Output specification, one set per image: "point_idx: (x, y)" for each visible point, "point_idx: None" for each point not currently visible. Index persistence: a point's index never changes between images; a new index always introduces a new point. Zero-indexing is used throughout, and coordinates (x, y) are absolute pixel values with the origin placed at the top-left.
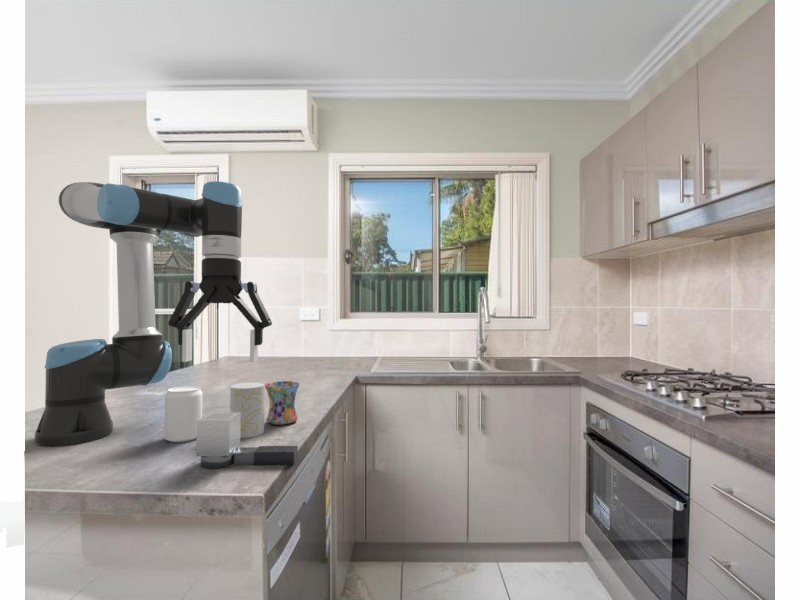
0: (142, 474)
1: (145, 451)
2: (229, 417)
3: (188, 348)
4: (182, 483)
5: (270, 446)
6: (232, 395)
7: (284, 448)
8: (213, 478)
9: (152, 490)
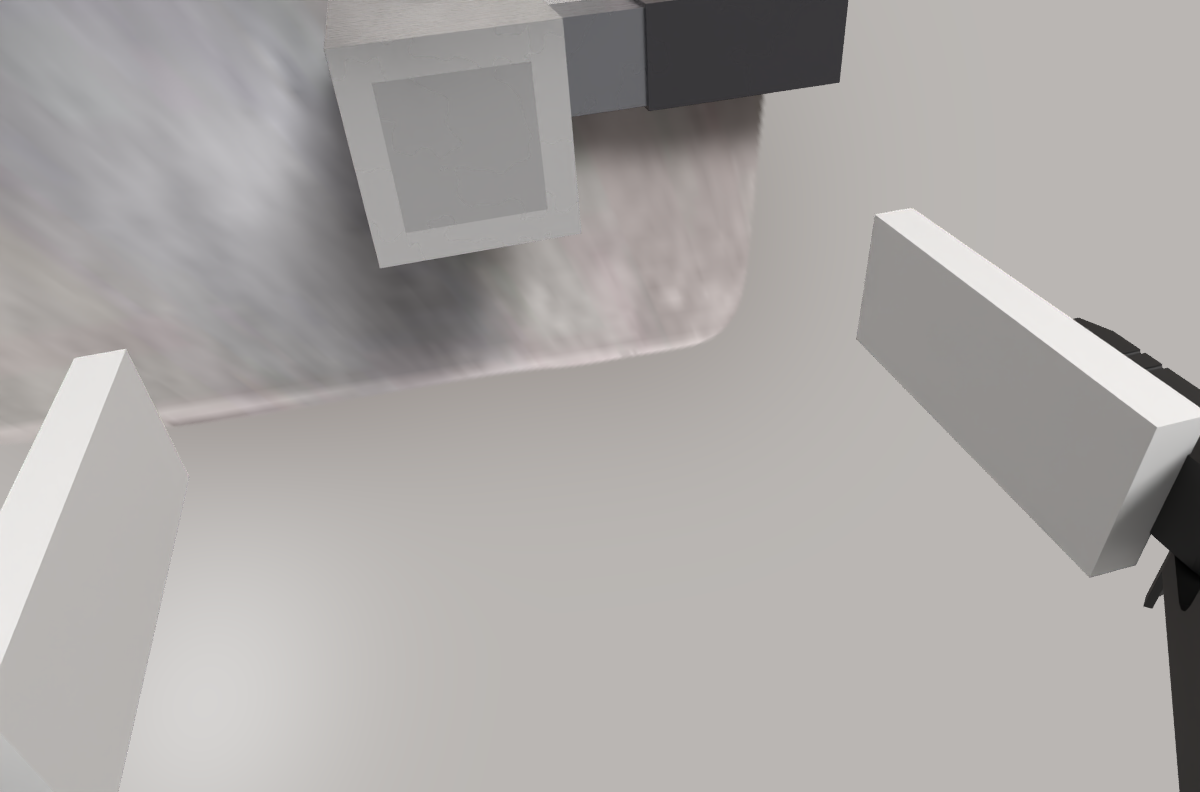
0: (160, 258)
1: None
2: (549, 170)
3: (135, 539)
4: (420, 309)
5: (708, 3)
6: None
7: (788, 34)
8: (516, 250)
9: (350, 376)
